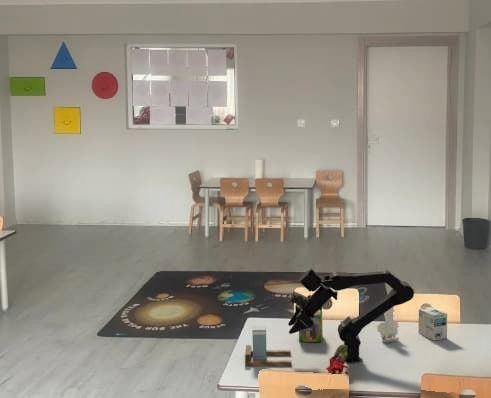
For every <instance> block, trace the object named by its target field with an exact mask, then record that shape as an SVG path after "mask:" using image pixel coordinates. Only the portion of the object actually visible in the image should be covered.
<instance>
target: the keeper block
mask: <svg viewBox="0 0 491 398" xmlns="http://www.w3.org/2000/svg"><path fill="white" fill-rule="evenodd" d="M251 331H252V332H251V333H252V334H251V335H252V350H253V356H252V361H267V356H268V355H267V353H266V350H267V325H252V330H251Z"/></svg>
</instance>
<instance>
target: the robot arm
mask: <svg viewBox="0 0 491 398" xmlns="http://www.w3.org/2000/svg"><path fill="white" fill-rule="evenodd" d="M298 282H299V283H300V285H302V286H303V287H304V289H306V290H307V291H308V292H312V294H309V295H307V296H305V295H303V294H301V293H299V292H296V291H294V290H293V291H292V293H291V295H290V298H289V302H290V303H291V304H295V305H294V306H295V308H294V310H295V311H294V313H293V315H292V316H291V318H290V320H289V321H288V324H287V325H288V326H289V327H291V326H292V327H291V328H290V329H289V330H288V333H289V334H290V335H292V334H296V333H297V332H298V333H299V331H301V330H304V329H308V328H311V327H312V326H313V325H314V321H313V318H314V317H315V316H314V315H315V314H316V313H317V312H318V311H319V310H320V311H321V310H322V311H323V307H324V306H325V305H326V303H327V302H329V301H330V300H331V299H332V298H333V299H334V300H335V301H338V295H339V293H338V292H339V291H342V290H346V289H349V288H352V287H355V286H362V285H363V286H366V285H377V284H386V285H388V286H389V287H390V288H391V290H390V291H389V293H388V294H387V295H386V296H385V297H384V298H382V299H381V300H379V301H378V302H377V303H375V304H374V305H372V306H371V307H370V308H368V309H367V310H364V312H362V313H360V315H358V316H356V317H353V318H351V316H350V315H349V316H347V317H346V318H345V319H344V320H341V321H340V324H338V326H337V333H338V334H337V335H338V336H339V339H340V340H341V342H343V345H347V346H348V349H347V354H348V356H347V359H346V360H345V363H346V364H350V363H352V364H353V363H357V362H363V361H364V360H363V358H362V357H361V356H360V346H361V343H362V342H361V339H360V337H359V335H360V334H361V332H362V330H363V329H364V328H365V327H366V326H368V325H370V324H371V323H372V322H374V321H375V320H377V319H378V318H379V317H381V316H382V315H384V313H385V312H387V311H388V310H389V309H391V308H392V307H393V308H394V307H396V306H400V305H404V304H405V303H407V302H409V301H411V300H412V299H413V298H414V297H415V296H414V295H415V289H413V287H412V286H411V285H410V283H408V282H407V281H402V280H401V279H399V278H398V277H396V276H395V275H394V274H393V273H392V272H391V271H390V270H386V269H385V270H383V271H372V272H371V271H370V272H358V273H349V272H343V271H333V272H331V273H330V274H327V275H322V276H321V275H319V274H318V273H316V271H315V270H314V269H313V268H310V269H308V270H307V271H305V272H303V274H301V276H300V277H299V279H298Z"/></svg>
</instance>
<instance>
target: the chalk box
mask: <svg viewBox="0 0 491 398" xmlns="http://www.w3.org/2000/svg"><path fill="white" fill-rule="evenodd" d="M314 316H315V317H314V318H313V321H314V325H313V326H312V327H311V328H308V329H304V330H301V331H298V342H299V343H320V344H321V343H322V341H323V334H324V333H323V332H324V331H323V309H322V310H321V311H320V310H319V311H318V312H317V313H316V314H315V315H314Z"/></svg>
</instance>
